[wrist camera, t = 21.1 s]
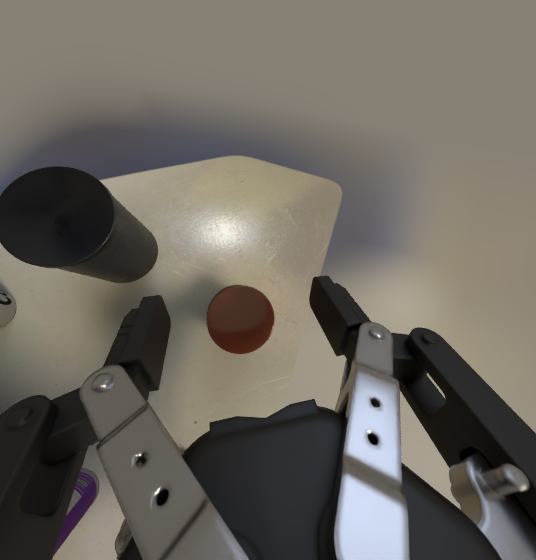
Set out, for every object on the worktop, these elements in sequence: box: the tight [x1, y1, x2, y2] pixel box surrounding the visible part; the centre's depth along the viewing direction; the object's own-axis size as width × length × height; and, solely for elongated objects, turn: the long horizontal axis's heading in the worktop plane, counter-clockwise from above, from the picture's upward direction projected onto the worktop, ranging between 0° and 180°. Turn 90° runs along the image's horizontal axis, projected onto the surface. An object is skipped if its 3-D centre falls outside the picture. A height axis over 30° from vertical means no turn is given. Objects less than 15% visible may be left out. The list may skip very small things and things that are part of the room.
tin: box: [0, 166, 158, 283], centre depth 25 cm, size 10×10×12 cm
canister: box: [207, 286, 274, 354], centre depth 25 cm, size 6×6×12 cm
